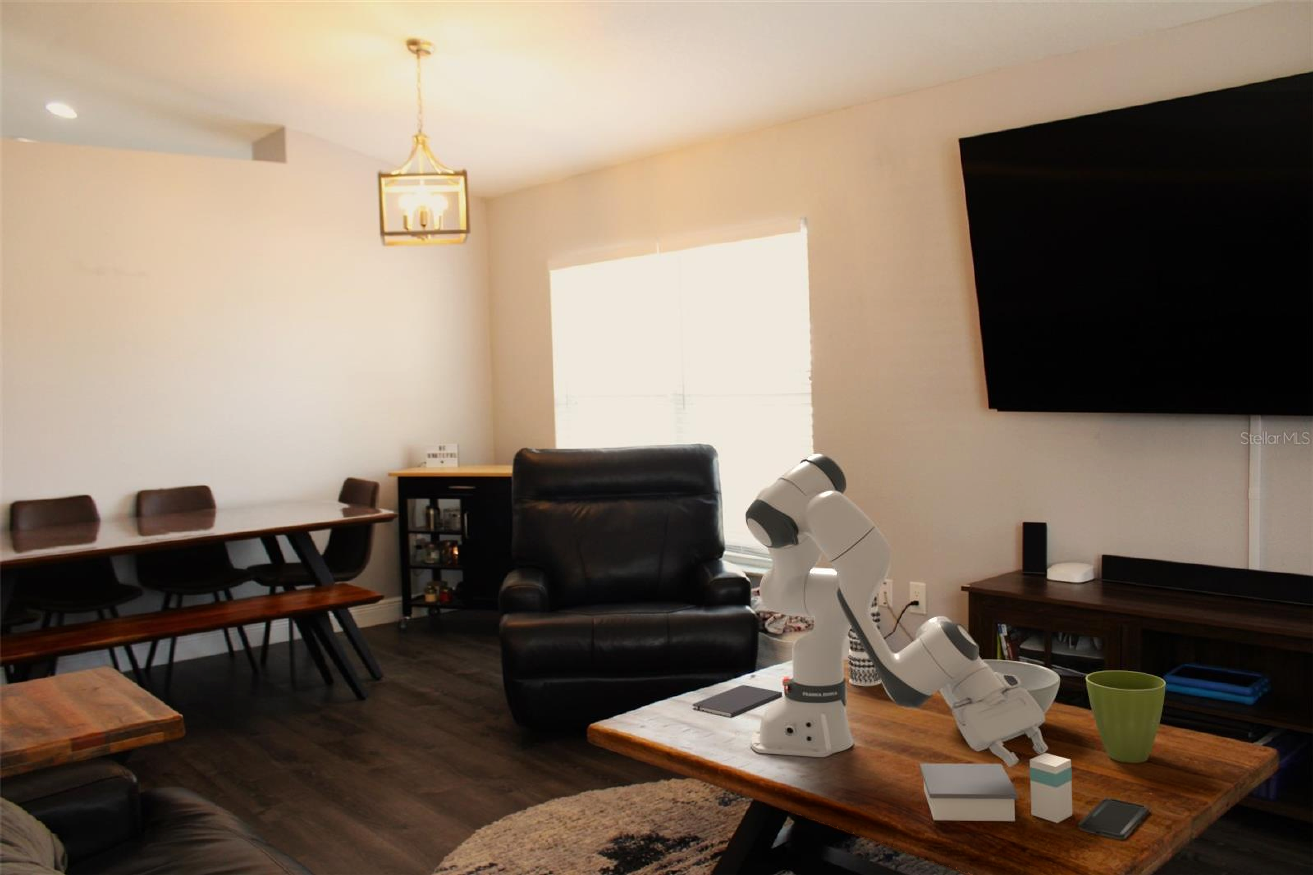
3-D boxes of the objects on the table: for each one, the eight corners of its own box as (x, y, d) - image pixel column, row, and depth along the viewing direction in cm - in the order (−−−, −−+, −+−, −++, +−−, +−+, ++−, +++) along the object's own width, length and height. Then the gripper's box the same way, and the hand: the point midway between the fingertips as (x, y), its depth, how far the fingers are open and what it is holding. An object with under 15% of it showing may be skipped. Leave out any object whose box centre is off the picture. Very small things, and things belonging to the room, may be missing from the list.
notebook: (731, 719, 248) (782, 698, 264) (731, 713, 248) (782, 692, 264) (691, 710, 257) (742, 690, 273) (691, 704, 257) (742, 684, 273)
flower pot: (1076, 745, 219) (1074, 671, 218) (1147, 743, 218) (1145, 668, 218) (1105, 771, 204) (1102, 691, 203) (1181, 768, 203) (1179, 688, 203)
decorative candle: (848, 686, 270) (844, 592, 269) (847, 676, 279) (844, 585, 278) (883, 686, 269) (880, 591, 268) (881, 677, 278) (878, 585, 277)
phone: (1150, 807, 184) (1123, 836, 173) (1150, 813, 184) (1123, 842, 173) (1104, 797, 189) (1075, 824, 178) (1105, 803, 189) (1075, 831, 178)
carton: (1031, 814, 185) (1029, 759, 184) (1046, 806, 188) (1045, 752, 187) (1057, 823, 181) (1055, 767, 180) (1072, 814, 184) (1071, 759, 183)
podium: (930, 821, 184) (929, 793, 183) (920, 789, 199) (919, 763, 198) (1019, 822, 182) (1018, 794, 181) (1001, 789, 197) (1001, 764, 196)
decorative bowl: (984, 754, 216) (982, 697, 215) (914, 718, 241) (912, 667, 241) (1088, 736, 224) (1087, 681, 224) (1010, 703, 250) (1008, 654, 249)
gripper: (957, 695, 186) (1006, 762, 178) (1021, 674, 198) (1070, 736, 191) (937, 714, 189) (984, 781, 182) (1002, 692, 202) (1049, 754, 194)
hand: (1029, 757), depth 186 cm, fingers open, 8 cm apart
